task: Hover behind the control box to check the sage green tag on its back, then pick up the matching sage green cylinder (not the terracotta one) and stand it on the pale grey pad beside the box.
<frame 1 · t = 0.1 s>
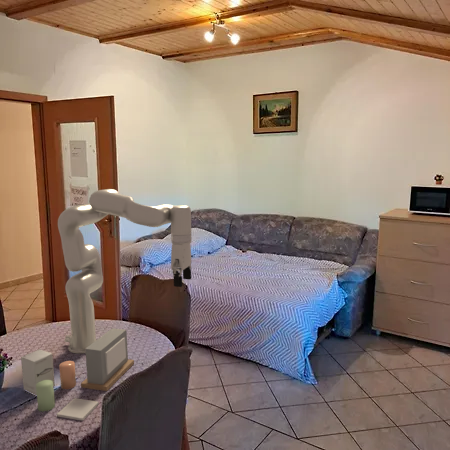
hand: (182, 282, 161), 31 cm above the table, tool pointing down, fingers open, 9 cm apart
control box: (109, 374, 155), on the table
supplement box: (39, 389, 146), on the table
terracotta part: (68, 385, 148), on the table
grey pad: (78, 410, 134), on the table
sage part: (46, 407, 136), on the table
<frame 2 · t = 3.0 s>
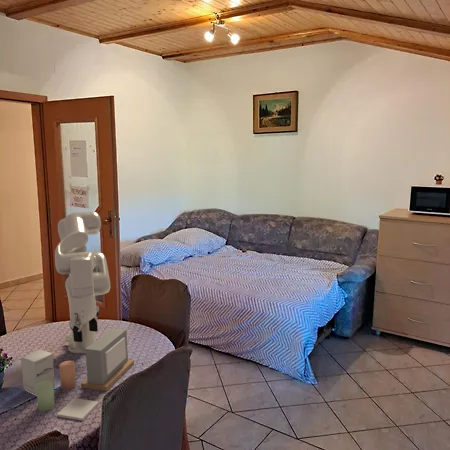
hand: (86, 336, 155), 14 cm above the table, tool pointing down, fingers open, 9 cm apart
nothing on the table moved.
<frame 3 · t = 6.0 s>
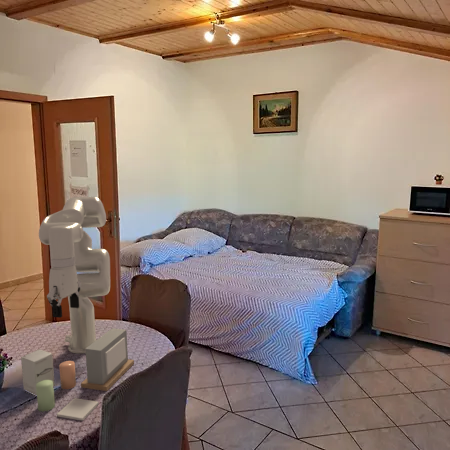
hand: (66, 312, 143), 27 cm above the table, tool pointing down, fingers open, 9 cm apart
nothing on the table moved.
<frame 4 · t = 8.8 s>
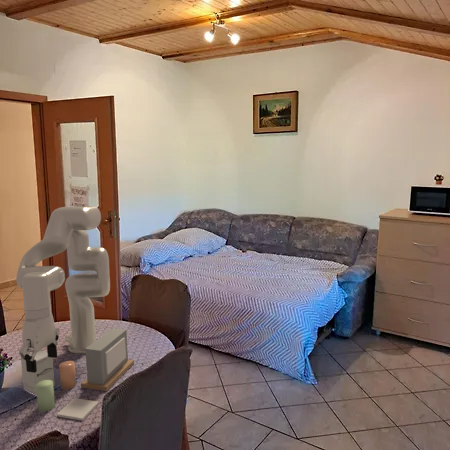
hand: (42, 364, 133), 15 cm above the table, tool pointing down, fingers open, 9 cm apart
nothing on the table moved.
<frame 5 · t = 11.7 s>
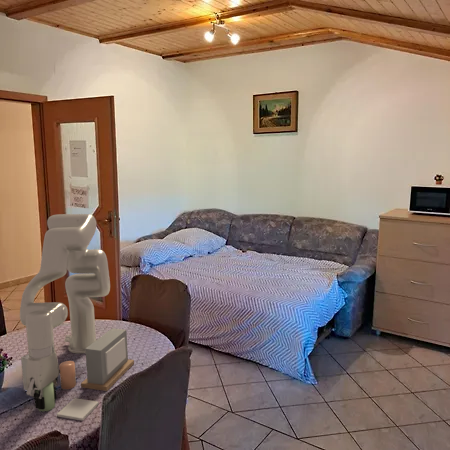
hand: (46, 402, 135), 1 cm above the table, tool pointing down, fingers closed on sage part, 5 cm apart
sage part: (46, 407, 136), on the table, touching gripper
everything else where it was.
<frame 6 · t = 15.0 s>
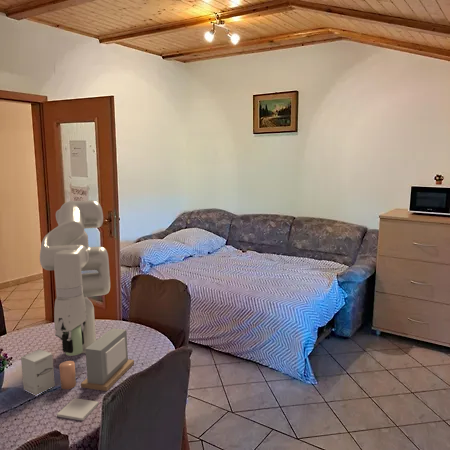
hand: (73, 347, 130), 21 cm above the table, tool pointing down, fingers closed on sage part, 5 cm apart
sage part: (74, 351, 131), point 20 cm above the table, touching gripper
everything else where it was.
when the fingers open (4 cm above the table, at t = 18.5 s): sage part drops 2 cm, resting on grey pad.
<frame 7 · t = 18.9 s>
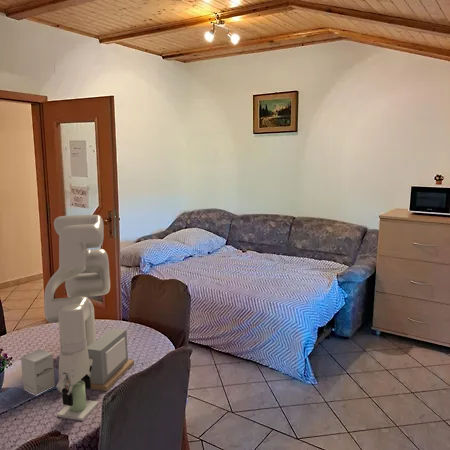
hand: (77, 396, 133), 5 cm above the table, tool pointing down, fingers open, 9 cm apart
sage part: (78, 407, 134), point 1 cm above the table, touching grey pad
everything else where it was.
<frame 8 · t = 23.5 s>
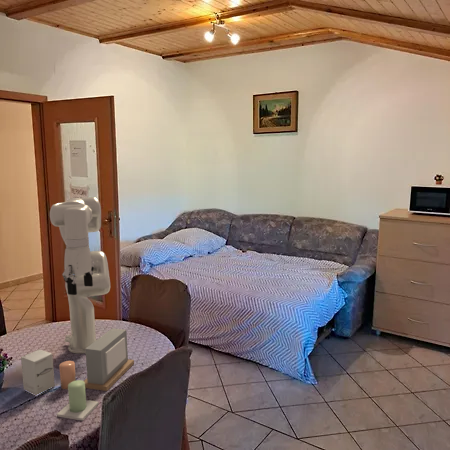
hand: (80, 290, 150), 32 cm above the table, tool pointing down, fingers open, 9 cm apart
nothing on the table moved.
at the end: sage part 0.1 cm off-centre on the grey pad, point 0.8 cm above the grey pad's base; sage part tilted 0°; terracotta part moved 0.0 cm from its start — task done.
